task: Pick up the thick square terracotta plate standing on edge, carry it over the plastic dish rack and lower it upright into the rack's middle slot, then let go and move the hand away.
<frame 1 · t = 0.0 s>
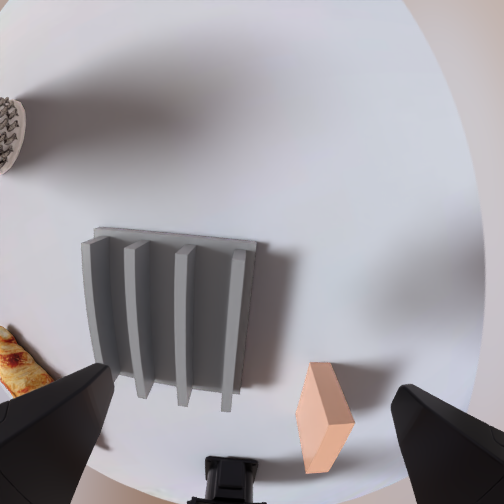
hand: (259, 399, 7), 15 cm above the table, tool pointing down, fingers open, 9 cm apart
black-white patterned cylinder: (4, 137, 18), on the table
terracotta plate: (312, 390, 24), on the table
croissant: (48, 388, 26), on the table
dish rack: (170, 315, 22), on the table
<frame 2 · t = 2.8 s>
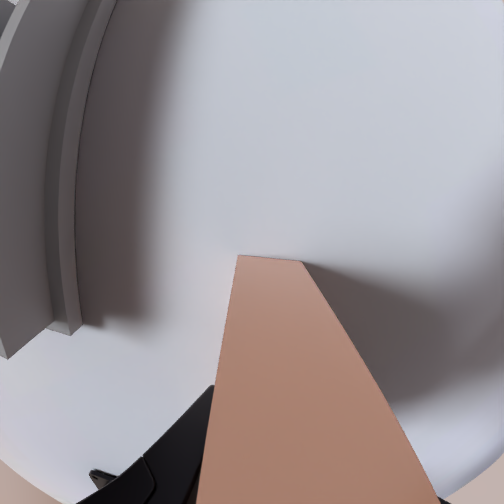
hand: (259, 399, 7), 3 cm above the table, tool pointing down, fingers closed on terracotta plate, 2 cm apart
terracotta plate: (257, 352, 10), on the table, touching gripper
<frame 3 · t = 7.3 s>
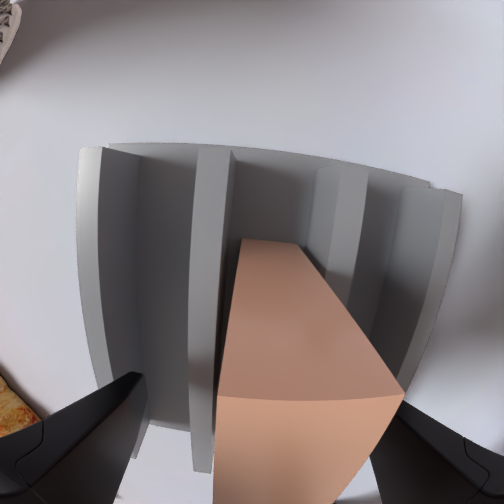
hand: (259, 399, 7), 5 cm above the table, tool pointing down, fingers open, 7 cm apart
terracotta plate: (258, 326, 11), point 1 cm above the table, touching dish rack
croissant: (30, 420, 15), on the table
dish rack: (256, 320, 12), on the table
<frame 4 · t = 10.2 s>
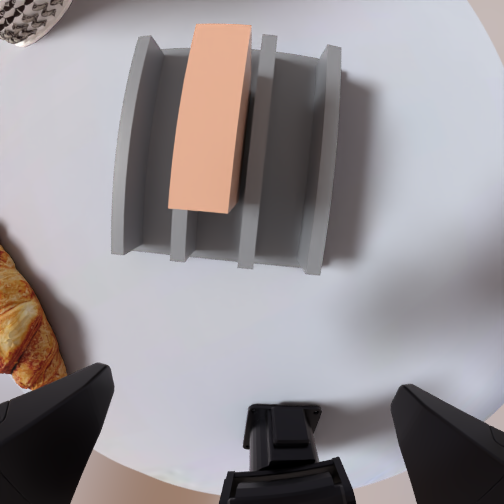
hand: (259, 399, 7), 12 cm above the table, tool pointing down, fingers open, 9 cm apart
black-white patterned cylinder: (43, 14, 13), on the table
terracotta plate: (228, 142, 16), point 1 cm above the table, touching dish rack
croissant: (27, 313, 20), on the table
dish rack: (228, 149, 17), on the table
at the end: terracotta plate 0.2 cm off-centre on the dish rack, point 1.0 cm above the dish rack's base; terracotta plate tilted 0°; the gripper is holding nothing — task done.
